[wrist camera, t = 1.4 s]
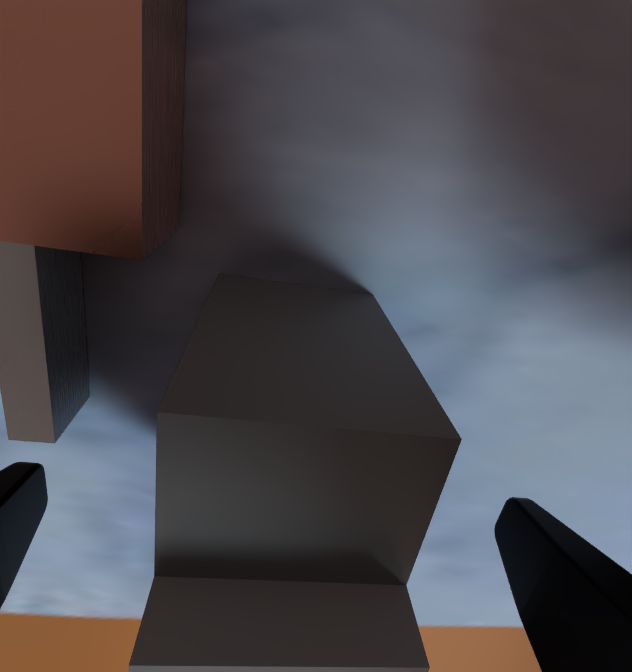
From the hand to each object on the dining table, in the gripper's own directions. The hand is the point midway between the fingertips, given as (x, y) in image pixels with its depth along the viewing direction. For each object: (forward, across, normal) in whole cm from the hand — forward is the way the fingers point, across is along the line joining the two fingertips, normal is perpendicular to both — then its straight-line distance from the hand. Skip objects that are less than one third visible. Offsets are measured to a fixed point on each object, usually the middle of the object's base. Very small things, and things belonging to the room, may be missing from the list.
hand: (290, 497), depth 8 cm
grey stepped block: (+4, 0, 0) cm, 4 cm away
